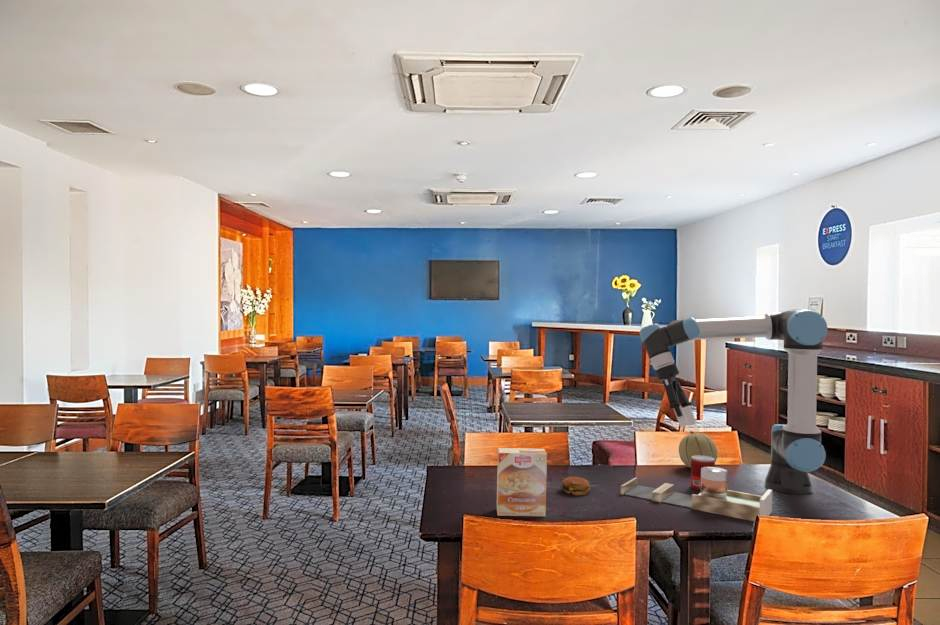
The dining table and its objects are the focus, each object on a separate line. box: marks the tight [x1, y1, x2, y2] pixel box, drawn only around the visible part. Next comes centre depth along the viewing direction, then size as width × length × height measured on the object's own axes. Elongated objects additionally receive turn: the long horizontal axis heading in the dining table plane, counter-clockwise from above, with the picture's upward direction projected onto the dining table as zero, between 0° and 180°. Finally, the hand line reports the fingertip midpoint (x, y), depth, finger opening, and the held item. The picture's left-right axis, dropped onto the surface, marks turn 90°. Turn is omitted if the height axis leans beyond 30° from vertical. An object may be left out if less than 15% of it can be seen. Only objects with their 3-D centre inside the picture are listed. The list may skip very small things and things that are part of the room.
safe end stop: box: [727, 488, 773, 516], centre depth 195 cm, size 12×13×7 cm
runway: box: [620, 477, 763, 522], centre depth 205 cm, size 44×13×4 cm, turn 54°
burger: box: [561, 476, 591, 496], centre depth 215 cm, size 10×9×5 cm
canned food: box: [690, 455, 716, 492], centre depth 222 cm, size 8×8×11 cm
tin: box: [700, 466, 729, 500], centre depth 201 cm, size 8×8×9 cm
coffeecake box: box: [496, 447, 548, 517], centre depth 192 cm, size 15×7×20 cm, turn 90°
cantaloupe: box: [678, 430, 719, 469], centre depth 248 cm, size 15×15×15 cm
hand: (689, 425), depth 210 cm, fingers open, 13 cm apart
